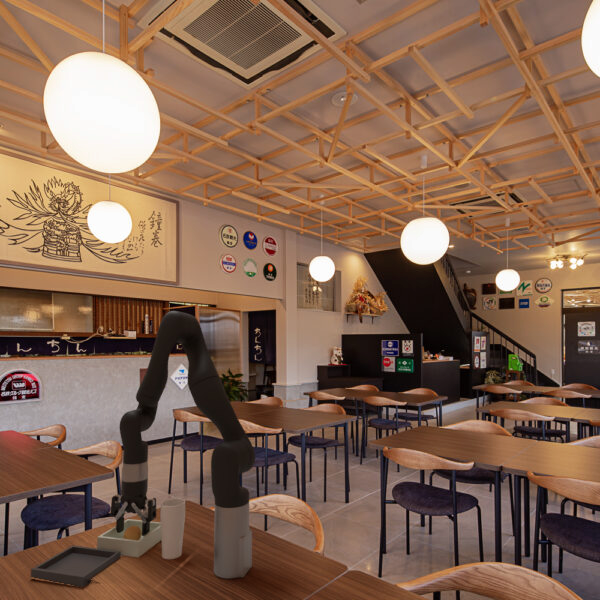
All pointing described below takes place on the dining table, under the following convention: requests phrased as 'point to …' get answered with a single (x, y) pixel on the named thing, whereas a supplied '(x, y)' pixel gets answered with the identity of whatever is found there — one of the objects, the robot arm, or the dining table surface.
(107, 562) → the tray
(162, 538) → the drinking glass
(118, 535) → the open box
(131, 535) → the ball
